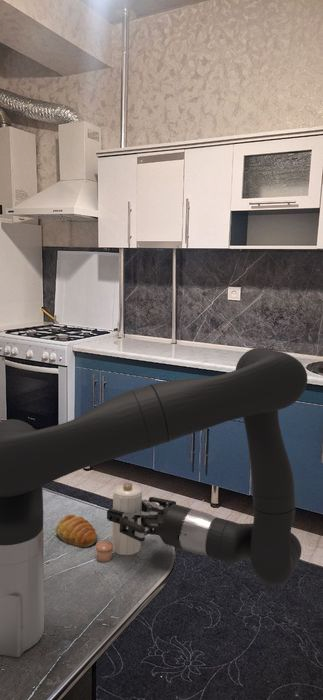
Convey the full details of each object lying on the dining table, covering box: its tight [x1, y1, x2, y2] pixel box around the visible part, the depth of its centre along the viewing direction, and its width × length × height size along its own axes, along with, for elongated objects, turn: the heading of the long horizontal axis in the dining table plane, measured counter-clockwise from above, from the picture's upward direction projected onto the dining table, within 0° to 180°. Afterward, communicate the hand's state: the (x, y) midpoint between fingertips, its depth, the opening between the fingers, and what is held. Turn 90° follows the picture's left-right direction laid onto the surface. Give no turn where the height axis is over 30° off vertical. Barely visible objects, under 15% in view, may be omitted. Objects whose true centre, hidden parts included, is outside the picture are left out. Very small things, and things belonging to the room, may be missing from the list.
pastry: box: [55, 514, 98, 548], centre depth 105 cm, size 9×7×4 cm
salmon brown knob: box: [95, 540, 113, 563], centre depth 98 cm, size 3×3×3 cm
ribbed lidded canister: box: [111, 482, 143, 556], centre depth 101 cm, size 6×6×14 cm
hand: (117, 507), depth 102 cm, fingers closed on ribbed lidded canister, 5 cm apart
